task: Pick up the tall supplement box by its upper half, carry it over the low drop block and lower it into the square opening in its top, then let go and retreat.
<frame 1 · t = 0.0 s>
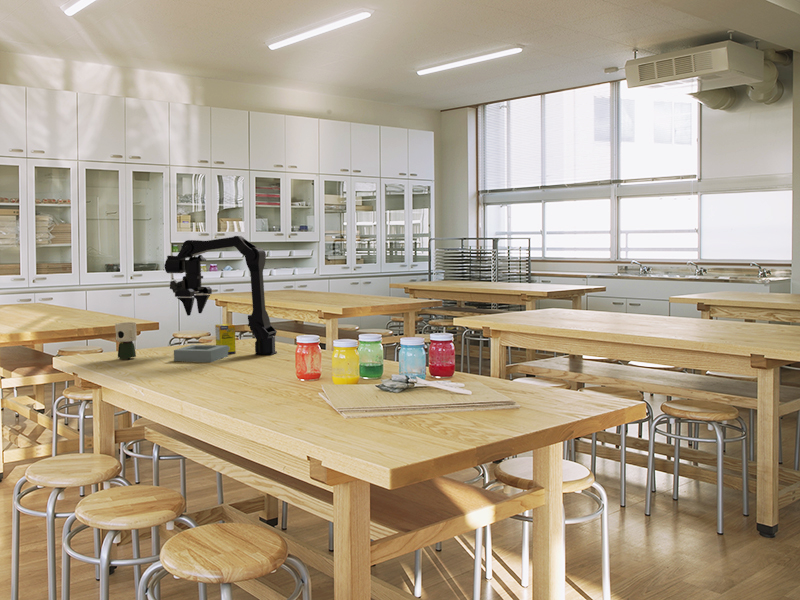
hand: (194, 314, 270), 15 cm above the table, fingers open, 9 cm apart
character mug: (126, 359, 256), on the table
drop block: (201, 358, 255), on the table
supplement box: (225, 353, 269), on the table
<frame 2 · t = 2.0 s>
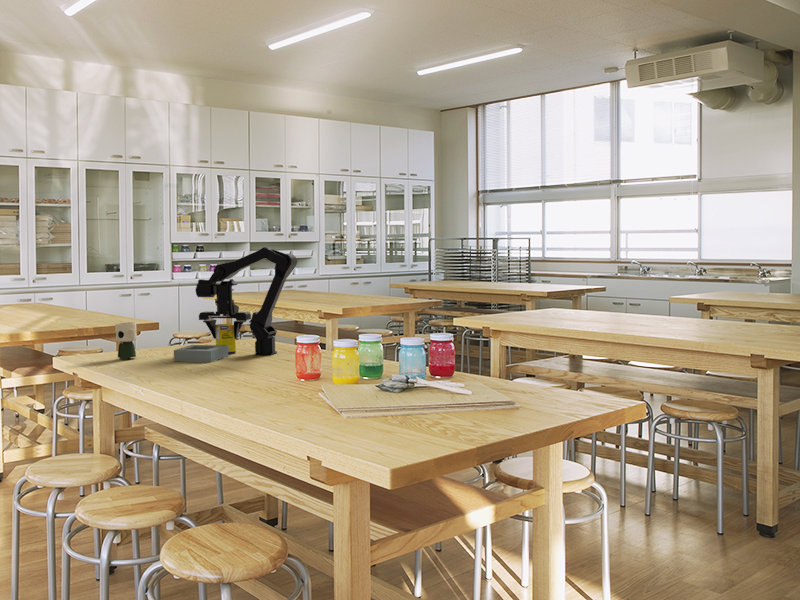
hand: (225, 338, 268), 6 cm above the table, fingers closed on supplement box, 8 cm apart
supplement box: (225, 353, 269), on the table, touching gripper
everything else where it was.
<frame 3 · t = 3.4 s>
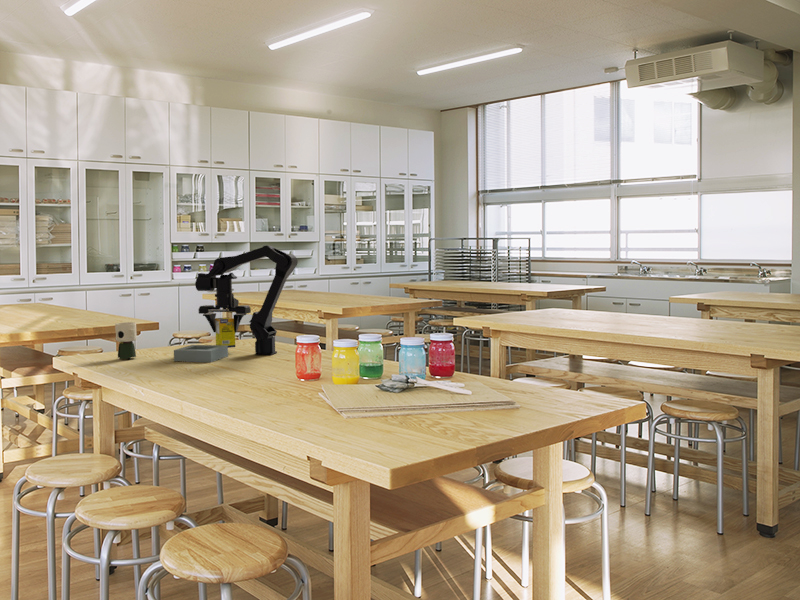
hand: (225, 332, 268), 8 cm above the table, fingers closed on supplement box, 8 cm apart
supplement box: (225, 347, 268), point 2 cm above the table, touching gripper
everything else where it was.
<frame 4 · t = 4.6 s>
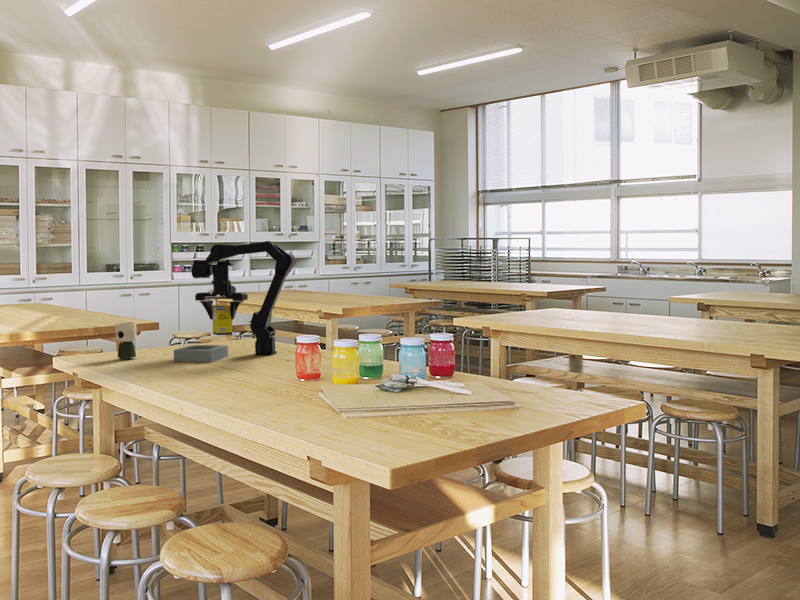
hand: (222, 319, 266), 13 cm above the table, fingers closed on supplement box, 8 cm apart
supplement box: (222, 334, 266), point 7 cm above the table, touching gripper
everything else where it was.
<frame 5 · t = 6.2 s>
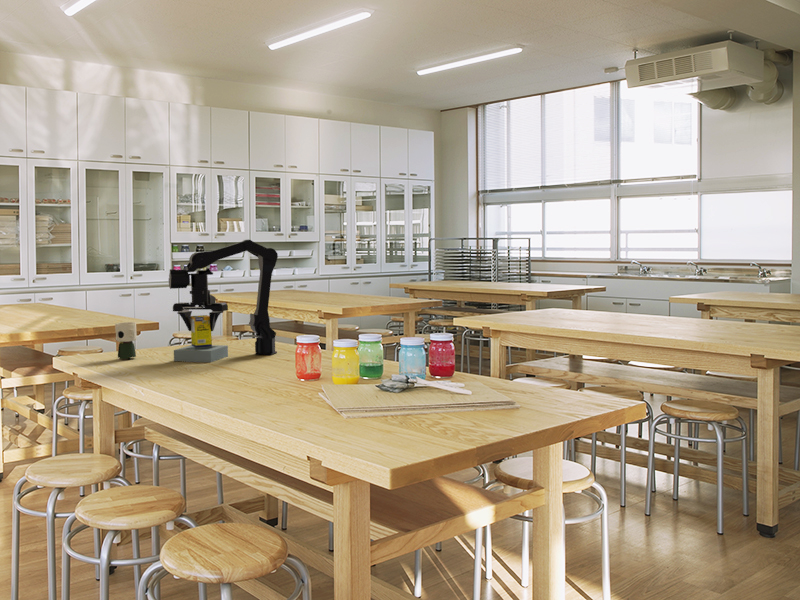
hand: (201, 331, 255), 10 cm above the table, fingers closed on supplement box, 8 cm apart
supplement box: (201, 346, 255), point 4 cm above the table, touching gripper
everything else where it was.
when the fingers open (8 cm above the table, at t = 7.3 s): supplement box drops 2 cm, resting in drop block.
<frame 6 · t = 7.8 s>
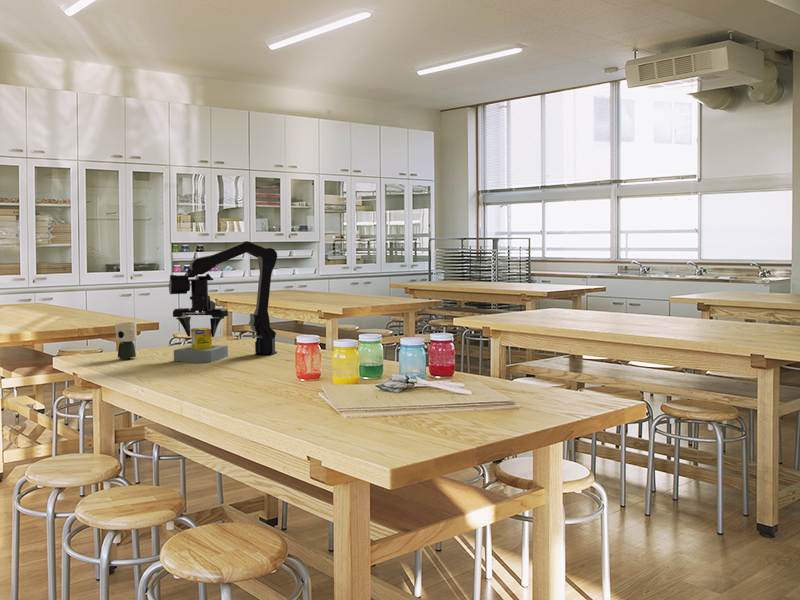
hand: (201, 336, 255), 8 cm above the table, fingers open, 9 cm apart
supplement box: (202, 359, 255), resting in drop block
everything else where it was.
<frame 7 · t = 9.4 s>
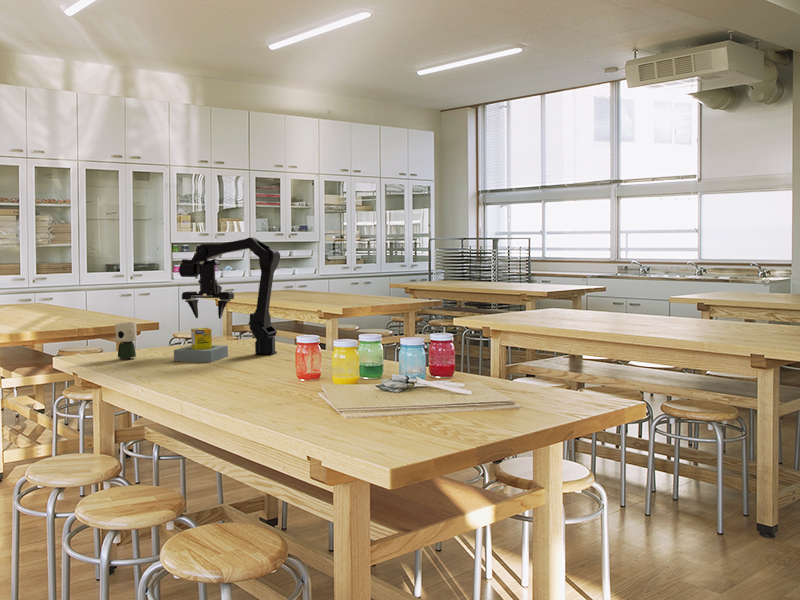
hand: (208, 318, 269), 13 cm above the table, fingers open, 9 cm apart
nothing on the table moved.
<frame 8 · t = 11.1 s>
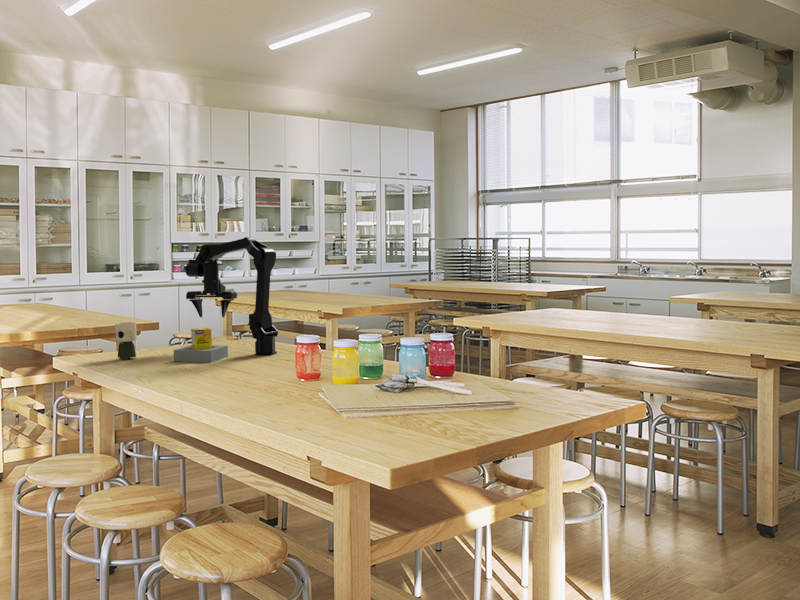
hand: (212, 317, 275), 13 cm above the table, fingers open, 9 cm apart
nothing on the table moved.
at the end: supplement box 0.1 cm off-centre on the drop block, point 0.0 cm above the drop block's base; supplement box tilted 0°; the gripper is holding nothing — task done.
